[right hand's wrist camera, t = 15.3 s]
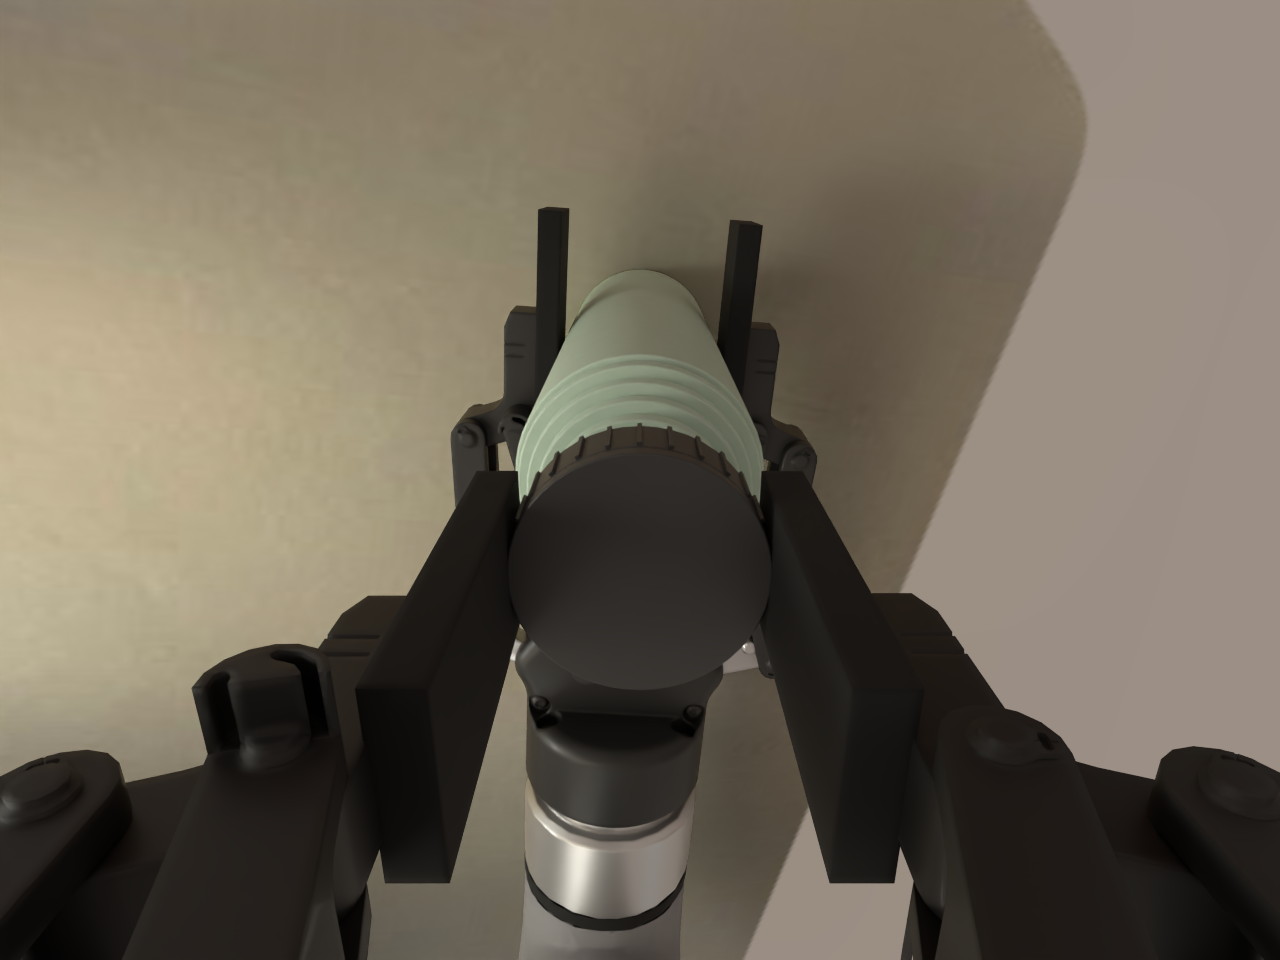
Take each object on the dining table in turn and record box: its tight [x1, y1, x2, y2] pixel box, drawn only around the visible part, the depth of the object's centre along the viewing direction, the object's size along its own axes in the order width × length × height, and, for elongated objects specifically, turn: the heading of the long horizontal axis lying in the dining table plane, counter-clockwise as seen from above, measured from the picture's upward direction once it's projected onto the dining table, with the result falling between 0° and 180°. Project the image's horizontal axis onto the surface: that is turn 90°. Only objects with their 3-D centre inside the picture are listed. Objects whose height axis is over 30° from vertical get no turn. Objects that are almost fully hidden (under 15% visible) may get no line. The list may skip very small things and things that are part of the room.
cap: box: [508, 423, 772, 690], centre depth 14 cm, size 5×5×2 cm
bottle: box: [516, 270, 764, 503], centre depth 24 cm, size 6×6×22 cm
